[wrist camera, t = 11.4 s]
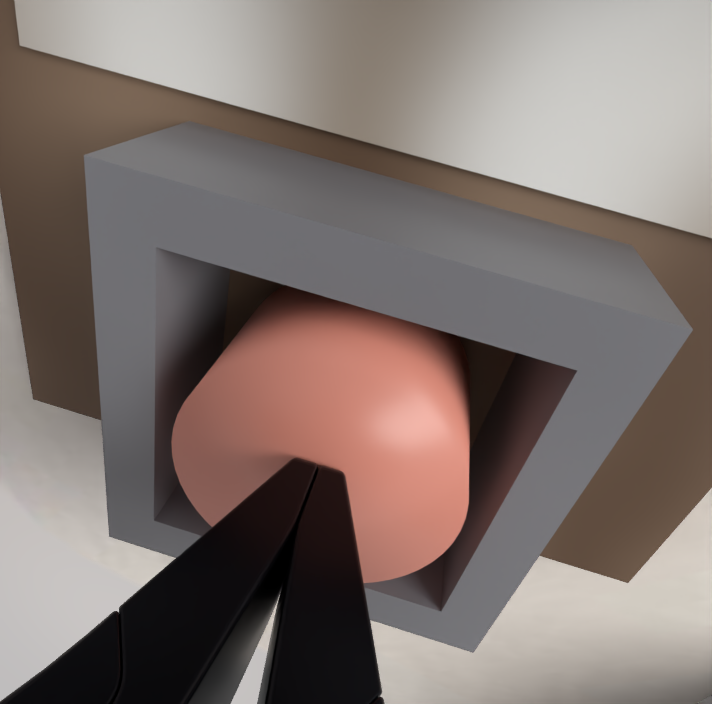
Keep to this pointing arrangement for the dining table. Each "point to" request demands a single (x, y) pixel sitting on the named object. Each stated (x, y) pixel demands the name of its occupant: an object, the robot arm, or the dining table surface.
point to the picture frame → (395, 170)
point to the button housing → (380, 294)
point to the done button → (337, 422)
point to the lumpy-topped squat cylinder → (706, 700)
